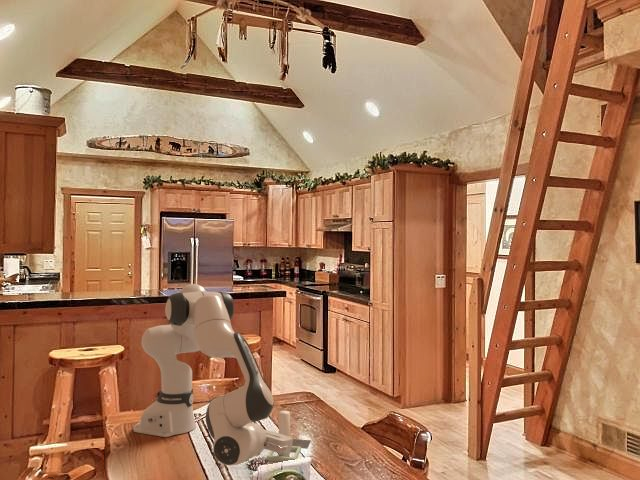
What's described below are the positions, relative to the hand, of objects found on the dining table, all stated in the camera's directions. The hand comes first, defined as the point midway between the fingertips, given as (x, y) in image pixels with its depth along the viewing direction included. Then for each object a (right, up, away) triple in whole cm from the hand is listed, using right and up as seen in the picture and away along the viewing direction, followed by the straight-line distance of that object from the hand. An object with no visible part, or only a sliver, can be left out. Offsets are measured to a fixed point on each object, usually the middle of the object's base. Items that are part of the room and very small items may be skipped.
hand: (267, 432), depth 152 cm
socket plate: (+9, -12, +17) cm, 23 cm away
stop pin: (+5, -11, +8) cm, 14 cm away
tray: (+5, -12, +8) cm, 15 cm away
